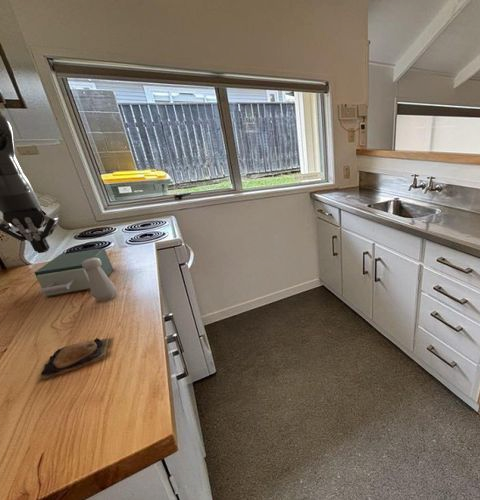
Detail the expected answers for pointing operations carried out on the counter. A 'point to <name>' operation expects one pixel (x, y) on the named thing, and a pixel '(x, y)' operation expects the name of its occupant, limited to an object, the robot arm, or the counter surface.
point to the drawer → (63, 281)
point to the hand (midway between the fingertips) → (43, 251)
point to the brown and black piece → (75, 357)
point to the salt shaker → (98, 280)
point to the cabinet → (76, 263)
